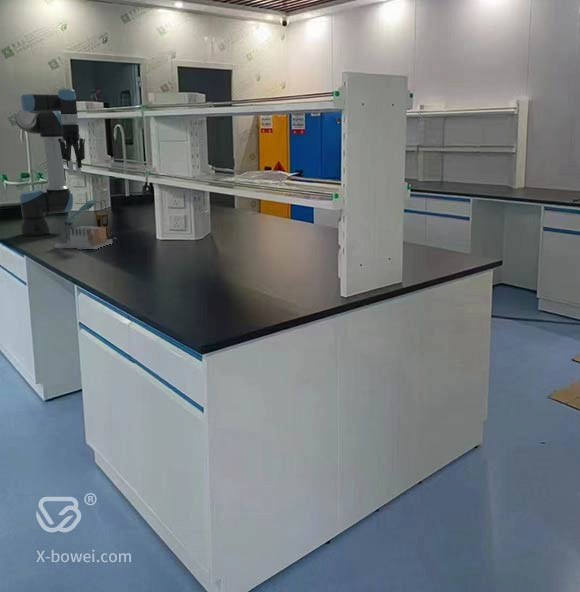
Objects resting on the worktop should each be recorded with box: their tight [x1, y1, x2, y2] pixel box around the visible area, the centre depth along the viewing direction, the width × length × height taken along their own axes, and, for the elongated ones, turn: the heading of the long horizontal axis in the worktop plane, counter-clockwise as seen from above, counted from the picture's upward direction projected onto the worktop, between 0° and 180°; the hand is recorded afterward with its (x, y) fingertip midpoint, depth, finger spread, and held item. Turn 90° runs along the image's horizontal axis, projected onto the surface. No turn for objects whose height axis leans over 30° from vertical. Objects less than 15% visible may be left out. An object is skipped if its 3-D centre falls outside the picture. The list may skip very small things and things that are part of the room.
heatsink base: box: [54, 221, 114, 251], centre depth 305 cm, size 22×16×12 cm
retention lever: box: [64, 199, 98, 227], centre depth 303 cm, size 21×6×2 cm
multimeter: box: [94, 199, 117, 240], centre depth 323 cm, size 15×10×20 cm
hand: (75, 174), depth 298 cm, fingers open, 3 cm apart
